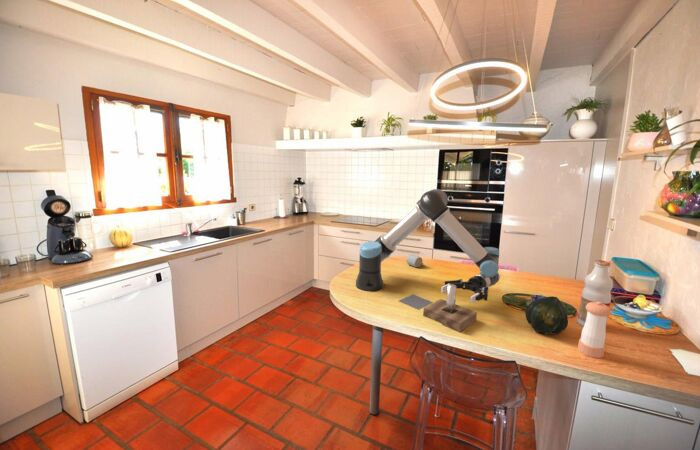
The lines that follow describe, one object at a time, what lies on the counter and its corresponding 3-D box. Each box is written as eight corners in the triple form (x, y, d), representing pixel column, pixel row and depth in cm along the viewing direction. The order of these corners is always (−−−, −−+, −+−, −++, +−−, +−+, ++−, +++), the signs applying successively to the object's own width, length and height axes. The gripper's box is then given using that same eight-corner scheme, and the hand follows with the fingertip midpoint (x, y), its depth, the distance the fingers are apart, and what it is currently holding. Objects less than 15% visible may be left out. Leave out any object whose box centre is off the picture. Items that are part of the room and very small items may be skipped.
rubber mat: (397, 301, 147) (397, 301, 146) (412, 295, 155) (412, 294, 154) (418, 310, 138) (418, 309, 138) (433, 303, 146) (433, 302, 146)
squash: (514, 315, 124) (547, 296, 115) (523, 304, 135) (553, 286, 127) (541, 347, 118) (577, 329, 110) (547, 333, 129) (581, 316, 121)
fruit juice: (575, 317, 134) (585, 256, 129) (602, 323, 130) (614, 260, 124) (578, 327, 126) (590, 262, 121) (607, 333, 121) (621, 266, 116)
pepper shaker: (599, 360, 104) (609, 308, 100) (574, 350, 110) (583, 300, 106) (606, 353, 108) (616, 303, 105) (581, 343, 114) (590, 295, 110)
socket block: (423, 316, 133) (423, 307, 132) (440, 307, 142) (441, 299, 141) (459, 332, 120) (460, 323, 120) (475, 320, 130) (476, 312, 129)
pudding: (553, 305, 146) (555, 295, 145) (555, 315, 136) (556, 304, 135) (525, 299, 152) (526, 289, 151) (524, 308, 142) (525, 298, 141)
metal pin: (443, 318, 131) (446, 285, 128) (447, 315, 134) (450, 283, 131) (451, 321, 129) (453, 288, 126) (455, 318, 131) (458, 286, 128)
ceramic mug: (415, 268, 195) (416, 257, 193) (406, 265, 201) (406, 254, 200) (426, 266, 201) (427, 255, 200) (416, 263, 207) (417, 252, 206)
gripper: (505, 299, 136) (483, 313, 122) (454, 282, 155) (430, 293, 141) (507, 283, 135) (485, 296, 121) (455, 268, 153) (431, 278, 139)
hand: (455, 294), depth 131 cm, fingers open, 13 cm apart
